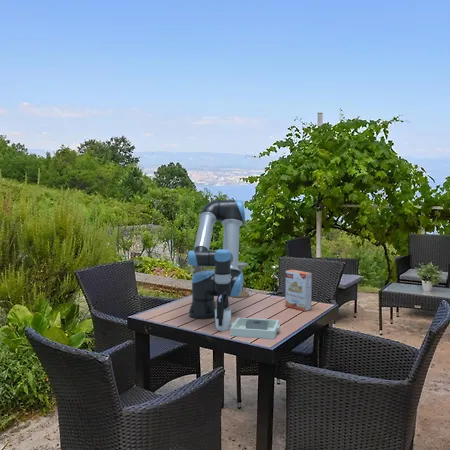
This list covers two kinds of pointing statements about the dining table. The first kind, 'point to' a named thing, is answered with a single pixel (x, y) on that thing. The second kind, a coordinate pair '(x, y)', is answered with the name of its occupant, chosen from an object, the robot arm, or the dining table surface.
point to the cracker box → (298, 290)
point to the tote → (241, 331)
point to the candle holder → (243, 292)
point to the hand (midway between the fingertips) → (223, 329)
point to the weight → (257, 325)
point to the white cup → (226, 318)
